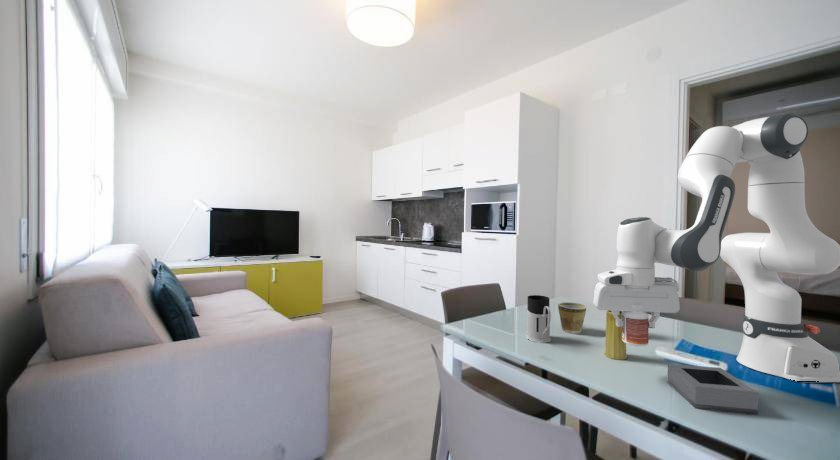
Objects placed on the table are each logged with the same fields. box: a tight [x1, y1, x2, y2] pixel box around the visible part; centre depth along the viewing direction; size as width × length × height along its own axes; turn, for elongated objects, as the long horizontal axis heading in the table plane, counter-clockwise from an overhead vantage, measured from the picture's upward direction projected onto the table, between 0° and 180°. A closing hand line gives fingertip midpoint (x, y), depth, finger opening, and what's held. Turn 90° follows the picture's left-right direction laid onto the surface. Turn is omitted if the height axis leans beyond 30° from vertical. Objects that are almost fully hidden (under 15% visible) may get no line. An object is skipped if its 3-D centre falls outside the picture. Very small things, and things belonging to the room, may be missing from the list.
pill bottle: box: [622, 305, 650, 347], centre depth 90 cm, size 6×6×11 cm
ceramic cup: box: [557, 301, 587, 335], centre depth 129 cm, size 13×10×10 cm
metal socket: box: [667, 363, 759, 415], centre depth 80 cm, size 12×12×5 cm
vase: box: [604, 310, 628, 361], centre depth 104 cm, size 6×6×14 cm
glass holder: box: [525, 294, 552, 344], centre depth 117 cm, size 9×14×15 cm, turn 2°
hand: (634, 326), depth 90 cm, fingers closed on pill bottle, 6 cm apart
